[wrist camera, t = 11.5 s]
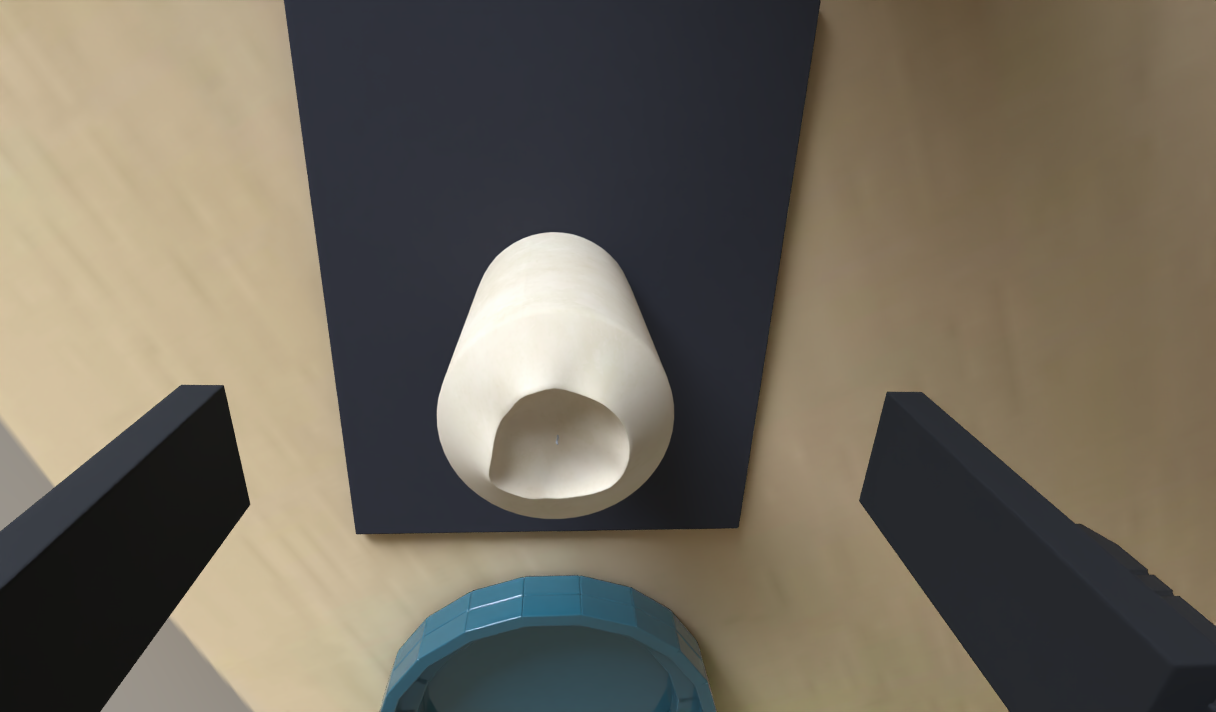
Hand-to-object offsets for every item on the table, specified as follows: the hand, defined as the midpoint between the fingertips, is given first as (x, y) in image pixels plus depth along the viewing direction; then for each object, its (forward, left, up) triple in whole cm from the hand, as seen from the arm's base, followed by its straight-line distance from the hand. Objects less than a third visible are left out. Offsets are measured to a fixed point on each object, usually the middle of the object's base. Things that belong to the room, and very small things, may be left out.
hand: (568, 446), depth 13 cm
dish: (+20, 0, -11) cm, 23 cm away
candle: (0, 0, -11) cm, 11 cm away
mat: (0, 0, -11) cm, 11 cm away
